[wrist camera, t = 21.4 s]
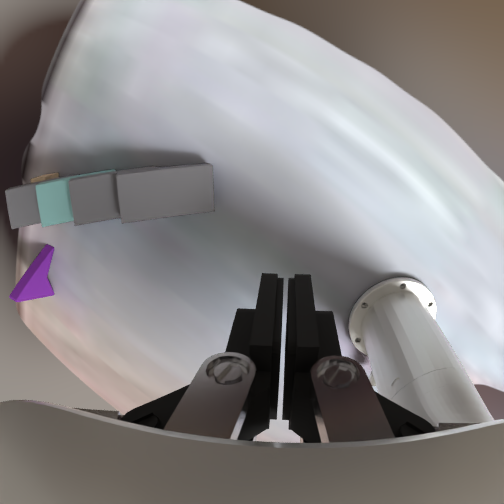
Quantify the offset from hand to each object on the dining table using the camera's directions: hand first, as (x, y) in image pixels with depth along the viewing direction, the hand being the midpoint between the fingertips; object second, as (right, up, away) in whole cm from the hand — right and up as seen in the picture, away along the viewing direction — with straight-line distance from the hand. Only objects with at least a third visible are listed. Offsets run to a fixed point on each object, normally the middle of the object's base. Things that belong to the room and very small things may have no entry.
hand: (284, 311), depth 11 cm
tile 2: (-12, +9, +24) cm, 28 cm away
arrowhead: (-33, -1, +32) cm, 46 cm away
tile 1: (-23, +9, +24) cm, 35 cm away
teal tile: (-17, +10, +24) cm, 31 cm away
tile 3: (-6, +9, +23) cm, 25 cm away
